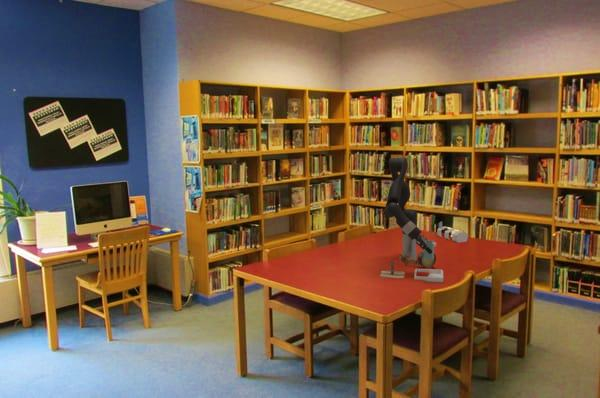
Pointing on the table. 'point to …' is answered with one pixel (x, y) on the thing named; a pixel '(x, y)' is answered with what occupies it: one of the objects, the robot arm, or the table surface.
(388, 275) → the stake base
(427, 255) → the blue grey tall block
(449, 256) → the table surface
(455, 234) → the white black banded cylinder
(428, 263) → the alarm clock
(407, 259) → the lion figurine
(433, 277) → the tray
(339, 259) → the table surface
